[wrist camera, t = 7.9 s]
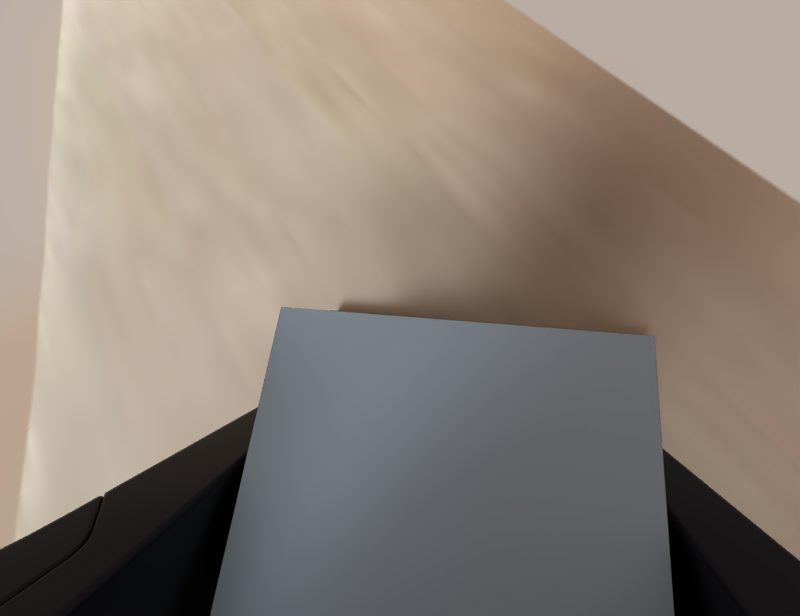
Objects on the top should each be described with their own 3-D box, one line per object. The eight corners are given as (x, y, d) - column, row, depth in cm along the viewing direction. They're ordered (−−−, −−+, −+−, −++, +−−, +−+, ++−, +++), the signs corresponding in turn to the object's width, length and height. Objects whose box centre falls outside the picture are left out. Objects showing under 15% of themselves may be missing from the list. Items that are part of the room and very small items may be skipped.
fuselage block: (534, 602, 12) (694, 878, 4) (359, 571, 13) (179, 746, 5) (537, 418, 14) (654, 335, 6) (382, 401, 15) (280, 306, 6)
